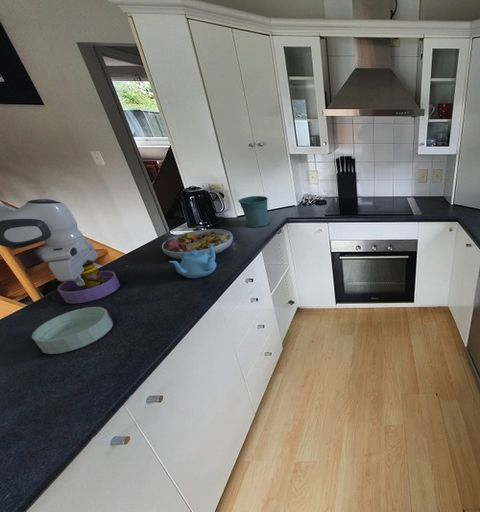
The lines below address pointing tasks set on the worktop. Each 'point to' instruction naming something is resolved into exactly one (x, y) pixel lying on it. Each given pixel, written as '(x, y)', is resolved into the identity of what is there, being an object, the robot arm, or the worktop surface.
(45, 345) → the celadon bowl
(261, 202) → the flower pot
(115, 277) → the lavender bowl
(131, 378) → the worktop surface
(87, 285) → the condiment
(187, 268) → the teapot
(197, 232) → the bowl
